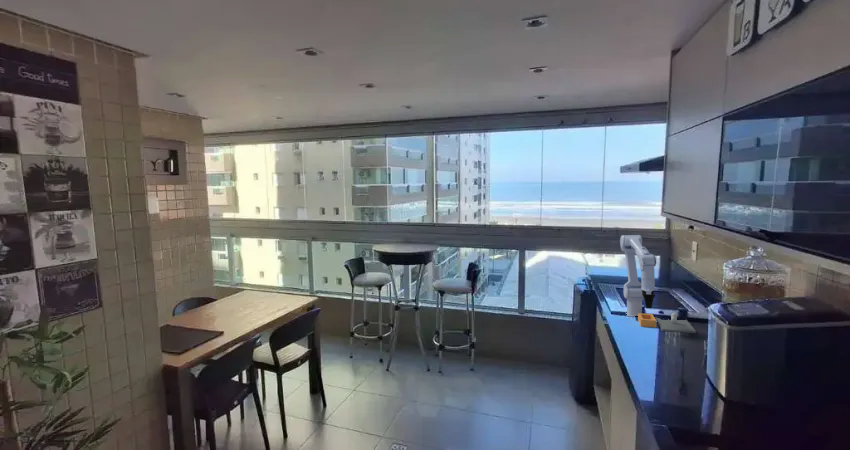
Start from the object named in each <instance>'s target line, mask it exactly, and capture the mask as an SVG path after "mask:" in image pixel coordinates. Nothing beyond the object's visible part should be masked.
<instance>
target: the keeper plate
mask: <svg viewBox="0 0 850 450" xmlns="http://www.w3.org/2000/svg"><path fill="white" fill-rule="evenodd" d="M657 317H658V316H655V318H656V321H657V322H656V324H657V325H658V327H659V328H660V330H661V331H662V332H670V333H671V332H673V333H685V334H687V333H688V334H696V333H697V331H696V329H695V328H694V327H693V326H692V325H691V323H690V322H689V321H688V320H687V319H686V320H677V318H678V314H676V313H675V312H672V313H671V315H670V317H671V320H669V319H668V320H661V319H660V318H657Z"/></svg>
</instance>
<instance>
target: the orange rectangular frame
mask: <svg viewBox="0 0 850 450" xmlns="http://www.w3.org/2000/svg"><path fill="white" fill-rule="evenodd" d="M655 317H656V316H655ZM655 317H654V314H652V313H643V312H642V313H638V317H637V321H638V323H639V326H640V327H643V328H646V327H647V328H657V322H656V319H655Z"/></svg>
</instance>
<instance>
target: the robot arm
mask: <svg viewBox="0 0 850 450" xmlns="http://www.w3.org/2000/svg"><path fill="white" fill-rule="evenodd" d="M619 243H620V244H619V245H620V250H621V251H622V252H624V256H625V257H624V258H625V262H626V263H625V264H626V272H627V273H626V274H627V279H628V281H626V283H624V284H623V289H622V290H623V291H622V292H623V297H624V298H625V299H626V310H625V311H626V312H627V313H626V312H625V315H626V314H627V315H626V316H627V317H630V318H636V317H635V316H638V313H642V314H643V309H642V308H643V301H644V303H645V307H646V309H652V307H653V302H654V298H655V297H656V294H655V291H658V287H656V286H655V284H656V282H655V280H656V279H655V278H656V277H655V267H656V266H657V257H656V255H655V254H652V253H650V252H649V250H648V248H646V246H643V238H642V236H641V234H634V235H633V234H630V235H629V234H628V235H624V234H623V235H621V236H620V239H619ZM636 258H637V259H638V264H639V270H640V273H641V275H640V277H641V280H640V281H641V282H640V281H639V278H638V268H637V263H636V262H637V261H636Z"/></svg>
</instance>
